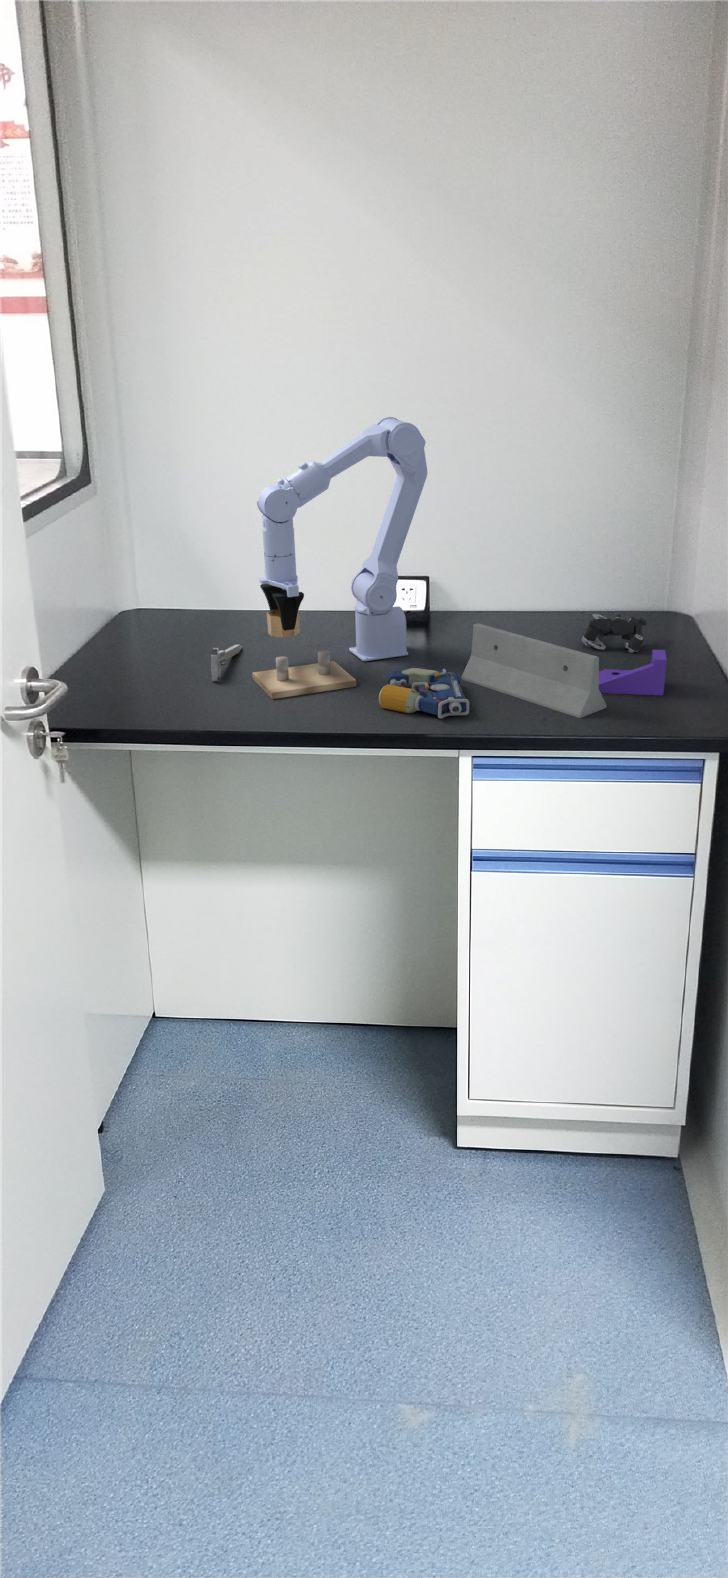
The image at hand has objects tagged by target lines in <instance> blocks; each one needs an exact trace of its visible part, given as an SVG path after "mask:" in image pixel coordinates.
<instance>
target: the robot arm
mask: <svg viewBox="0 0 728 1578" xmlns="http://www.w3.org/2000/svg"><path fill="white" fill-rule="evenodd" d="M425 447H426V440H425V438H424V437H423V435H422V433H421V432H420V430H419V428H418V427H417V426H416V425H414V424H413V423H412V422H407V421H406V422H405V421H402V420H399V419H398V418H397V417H394V416H393V417H392V416H387V417H386V416H385V417H384V418H381V419H380V420H379V421H378V422H377V423H372V424H371V425H369V426H368V427H366V428H365V429H364V430H363V431H362V432H361V433H359V434H358V435H356V436H355V437H354V438H352V439H351V440H350V441H348V442H346V444H344V445H343V446H342V447H340V448H339V449H337V450H336V451H335V452H333V453H332V454H330V456H328V457H327V458H326V459H324V460H322V462H316V461H309V462H307V463H306V462H305V461H303V462H301V463H300V464H298V468H299V469H297V470H295V471H294V472H293V473H291V474H289V475H288V476H287V477H285V478H282V477H280V478H279V479H276V480H277V481H276V482H277V485H275V484H274V485H272V484H271V485H269V486H266V487H265V488H264V489H262V490H261V492H260V494H259V496H258V500H257V501H256V504H257V505H256V506H257V509H258V510H259V511H260V513H261V514H262V515H261V517H262V541H263V556H264V577H261V578H259V583H260V589H261V591H262V592H263V594H264V596H265V598H266V602H267V605H268V608H269V611H270V610H272V609H278V610H279V614H280V619H281V624H282V627H283V630H284V631H286V630H293V629H295V625H296V620H297V614H298V612H299V609H300V606H301V603H302V602H303V600H304V598H305V593H304V592H302V591H299V589H300V588H299V585H298V581H299V579H298V575H297V564H296V561H297V560H296V558H297V557H296V545H295V544H296V542H295V528H294V517H295V516H296V513H297V511H298V509H299V508H302V507H303V506H304V505H306V504H307V503H309V502H310V501H312V500H314V499H315V498H317V497H318V496H319V495H321V494H322V493H325V491H327V490H328V489H329V486H330V483H331V480H332V479H333V478H334V477H336V476H337V475H340V474H341V473H343V472H345V471H346V470H348V469H350V468H351V467H353V466H355V465H356V464H357V463H360V462H361V461H363V460H364V459H366V458H368V457H383V458H384V457H385V458H386V457H387V459H388V460H389V461H390V464H391V465H392V467H393V469H394V471H395V473H396V477H395V481H394V484H393V486H392V490H391V493H390V496H389V499H388V503H387V505H386V508H385V511H384V514H383V517H382V519H381V523H380V524H379V529H378V532H377V535H376V538H375V540H374V544H373V546H372V549H371V550H372V551H371V553H370V555H369V556H368V557H367V558H366V559H365V560H364V561H363V563H362V565H361V568H360V570H359V571H358V572H357V573H356V574H355V576H354V577H353V579H352V580H351V585H350V589H351V590H350V591H351V592H352V593H351V594H352V595H353V597H354V598H355V599H356V605H355V607H354V610H355V612H354V613H355V614H354V615H355V644H356V645H355V646H352V647H349V648H348V650H349V652H350V653H352V654H353V655H355V656H356V657H357V658H358V659H360V660H361V661H362V662H368V661H375V660H377V661H378V660H383V659H389V658H396V657H398V658H399V657H404V656H408V655H409V651H407V619H406V614H405V612H404V610H403V608H402V607H401V606H395V604H396V602H397V595H398V594H397V584H398V581H399V574H398V573H399V572H398V562H399V560H400V557H401V553H402V550H403V547H404V544H405V541H406V539H407V536H408V533H409V530H410V528H411V527H410V526H411V524H412V522H413V519H414V515H415V513H416V511H417V506H418V505H419V501H420V498H421V495H422V491H423V489H424V486H425V483H426V481H427V477H428V467H427V458H426V453H425V452H426V451H425Z"/></svg>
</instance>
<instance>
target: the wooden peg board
mask: <svg viewBox="0 0 728 1578" xmlns="http://www.w3.org/2000/svg"><path fill="white" fill-rule="evenodd" d="M330 654H331V653H330V651H329V650H319V651H317V662H316V663H310V664H304V665H303V664H302V665H296V666H289V657H288V656H284V655H283V656H276V657H275V669H268V670H261V671H254V672H251V674H252V680H253V681H255V683H256V684H257V685H258V686H259V688H261V690H262V691H263V692H264V693H265V694H266V695H267V696H268V697H270V699H271V700H276V699H282V698H283V699H284V698H289V697H296V696H302V695H308V694H310V695H311V694H314V693H315V694H316V693H322V692H329V691H334V690H340V689H347V688H348V689H349V688H354V687H357V679H356V678H355V677H353V676H352V675H351V674H350V673H349V672H347V671H346V670H345V669H344V667H342V666H340V665H339V664H338V663H337V662H335V661H334V660H331V655H330Z"/></svg>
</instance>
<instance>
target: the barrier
mask: <svg viewBox="0 0 728 1578" xmlns="http://www.w3.org/2000/svg"><path fill="white" fill-rule="evenodd" d="M472 628H473V629H472V630H473V631H472V641H471V643H472V644H471V654H470V657H469V660H468V662H467V664H466V665H465V668H464V670H463V673H462V675H461V680H463V681H466V682H469V683H473V684H476V685H479V686H481V687H484V688H487V689H489V690H493V691H497V692H499V693H503V694H505V695H507V696H508V695H509V696H512V697H515V698H518V699H521V700H524V701H527V702H530V703H533V704H536V705H539V706H542V707H545V708H548V709H551V710H554V711H557V712H561V713H563V714H567V715H570V716H572V717H576V718H578V719H581V718H584V717H586V716H588V715H591V714H593V713H596V712H599V711H601V710H603V709H607V706H608V705H607V703H606V701H605V699H604V697H603V694H602V693H600V691H599V671H600V668H599V667H600V657H599V656H597V655H592V654H589V653H586V652H582V651H579V650H575V649H571V648H567V647H564V646H561V645H558V644H553V643H549V642H546V641H543V640H539V639H535V638H531V637H530V636H529V637H528V636H525V635H522V634H517V633H514V632H510V631H507V630H504V629H499V628H497V627H493V626H488V625H485V624H482V623H480V622H479V623H474V624H473V627H472Z"/></svg>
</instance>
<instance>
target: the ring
mask: <svg viewBox="0 0 728 1578" xmlns="http://www.w3.org/2000/svg"><path fill="white" fill-rule="evenodd" d="M266 622H267V633H268V635H269V636H270V637H274V638H282V639H283V638H290V637H291V638H292V637H296V636H297V635H299V634H300V633H301V628H300V627H301V625H300V611H298V614H297V620H296V625H295V629H293V630H286V631H284V630H283V627H282V624H281V619H280V614H279V610H278V609H272V610H270V609H269V611H267V612H266Z"/></svg>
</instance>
